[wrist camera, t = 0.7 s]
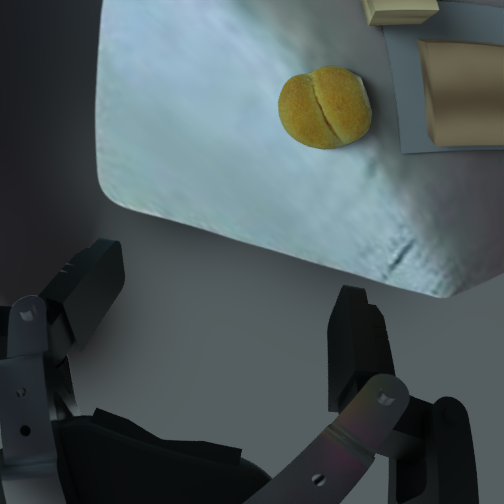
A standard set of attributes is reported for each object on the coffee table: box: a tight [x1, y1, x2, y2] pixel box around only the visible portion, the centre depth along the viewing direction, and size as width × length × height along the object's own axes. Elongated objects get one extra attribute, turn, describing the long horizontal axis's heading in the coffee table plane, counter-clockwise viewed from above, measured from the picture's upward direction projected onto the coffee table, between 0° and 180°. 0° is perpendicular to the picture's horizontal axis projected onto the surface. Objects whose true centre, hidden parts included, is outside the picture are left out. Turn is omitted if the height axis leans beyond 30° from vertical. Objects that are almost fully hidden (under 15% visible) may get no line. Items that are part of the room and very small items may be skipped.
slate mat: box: [382, 1, 504, 154], centre depth 22 cm, size 16×14×1 cm
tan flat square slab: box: [417, 39, 504, 147], centre depth 21 cm, size 10×10×3 cm
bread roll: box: [278, 66, 372, 149], centre depth 27 cm, size 8×9×4 cm
